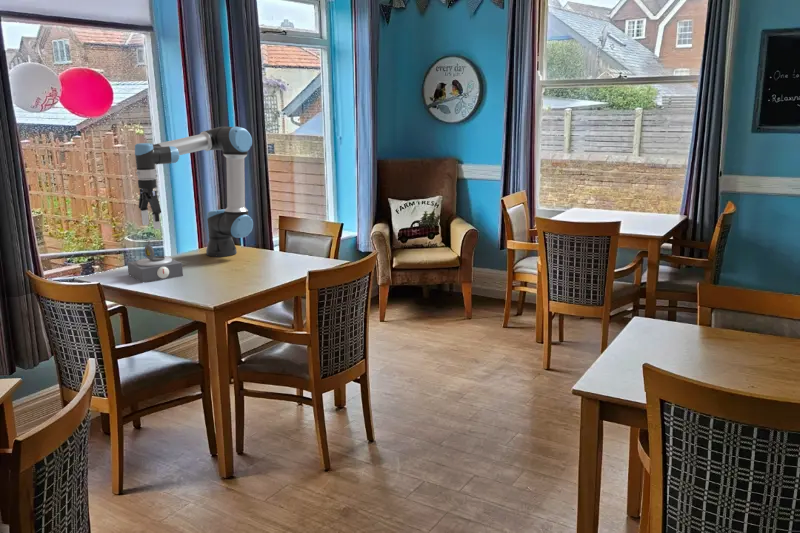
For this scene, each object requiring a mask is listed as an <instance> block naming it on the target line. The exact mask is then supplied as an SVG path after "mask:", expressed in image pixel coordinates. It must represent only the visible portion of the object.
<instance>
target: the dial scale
mask: <svg viewBox="0 0 800 533" xmlns="http://www.w3.org/2000/svg"><path fill="white" fill-rule="evenodd" d="M164 257H165V259H163V260H160V261H151V260H150V259H148V258H147V257H144V258H141V259H138V260H132V261H127V269H128V276H130V275H131V276H130V277H132V278H133V277H134V278H133V279H135V278H136V279H135V280H137V279H138V281H139V282H141V283H143V282H144V283H149V281H150V282H155V280H156V281H161V280H160V279H162V280H166V279H167V280H168V279H173V278H178V277H183V276H184V271H183V270H184V269H183V263H182V262H181V261H178V260H175V259H174V258H172V257H169V256H167V255H165V256H164Z"/></svg>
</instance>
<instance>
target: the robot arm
mask: <svg viewBox="0 0 800 533" xmlns="http://www.w3.org/2000/svg"><path fill="white" fill-rule="evenodd" d="M252 145H253V138H252V135H251V134H250V132H249V131H248V130H247V129H246V128H244V127H241V126H217V127H215V128H212V129H208V130H204V131H201V132H200V133H199V134H195V135H190V136H185V137H181V138H176V139H173V140H169V141H168V140H167V141H163V142H159V143H154V144H153V143H150V142H140V143H136V144H135V145H134V156H135V157H134V158H135V164H136V165H135V166H136V172H135V174H136V175H137V176H136V177H137V186H138V189H139V199H138V209H140V213H141V222H142V226H147V225H149V224H150V221H149V207H148V204H149V206H150V208H151V211H152V213H151V215H152V224H153V225H152V226H153V230H159V229H161V219H160V214H161V213H162V209H161V205H160V201H159V198H158V194H157V193H158V192H157V190H154V189H155V188H157V179H156V178H157V176H156V175H157V174H156V166H155V165H166V164H167V165H168V164H175V163H177V162H179V159H180V156H183V155H186V154H192V153H195V152H199V151H204V150H205V151H206V152H209V151H222V154H223V156H224V157H225V159H226V198H227V199H226V200H227V203H226V205H227V206H226V208H223V209H215V210H213V209H212V210H209V211H208V212H207V215H206V216H207V217H206V220H207V231H208V233H207V234H208V242H207V246H206V249H205V250H206V256H209V257H214V258H215V257H216V258H220V257H223V258H224V257H229V256H230V255H231V256H235V255H236V254H237V247H236V245H235V242H234V240H233V238H247V237H248V236H249V235H250V233H252V232H253V228H254V221H253V218H252V217H251V216H249V209H247V207H246V183H245V180H246V179H245V175H246V174H245V159H246V157H247V156H248V151H249V150H250V149H251V147H252Z"/></svg>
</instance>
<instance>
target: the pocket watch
mask: <svg viewBox="0 0 800 533" xmlns="http://www.w3.org/2000/svg"><path fill="white" fill-rule="evenodd" d="M146 242H147V244H146V245H145V246H144V255H145V258H148V259H150V260H151V261H160V260H163V259H165V256H163V255H155V250H154V248H153V246H152V245H151V241H150V240H148V239H146Z"/></svg>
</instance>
